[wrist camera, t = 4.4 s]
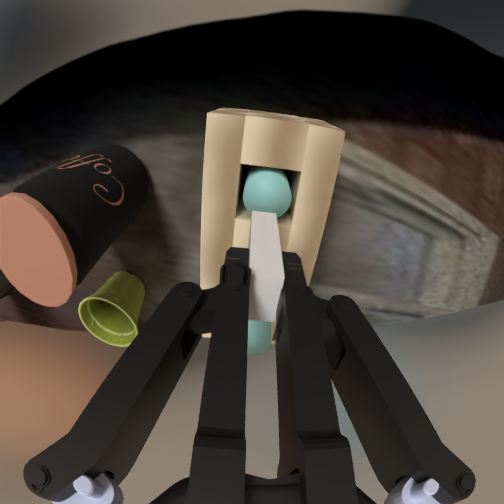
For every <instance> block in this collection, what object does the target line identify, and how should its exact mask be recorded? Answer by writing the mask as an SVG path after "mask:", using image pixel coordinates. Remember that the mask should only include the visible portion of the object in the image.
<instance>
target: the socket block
mask: <svg viewBox="0 0 504 504" xmlns="http://www.w3.org/2000/svg"><path fill="white" fill-rule="evenodd" d="M344 137H345V131H343V130H341V129H339V128H337V127H335V126H333V125H331V124H329V123H327V122H324V121H321V120H316V119H310V118H305V117H299V116H292V115H286V114H279V113H271V112H263V111H254V110H244V109H233V108H220V109H217V110H214V111H211V112H208V113H207V122H206V135H205V150H204V167H203V187H202V213H201V258H200V287H201V289H209V288H213V287H215V286H217V285H218V284H219V282H220V268H221V266H222V265H224V261H225V256H226V251H227V250H228V249H229V248H230V247H239V248H248V240H249V232H250V223H251V215H252V214H250V213H249V212H248V210H247V209H246V207H245V205H244V202H243V193H244V187H245V186H242V182H243V173H244V164H248V165H257V166H265V167H273V168H281V169H288V174H287V179H288V183H289V187H290V190H291V195H292V199H291V204H290V206H289V208H288V210H287V211H286V212H285V213H284V214H283V215H282V216H280V217H278V218H277V223H278V230H279V238H280V245H281V251H285V252H294V253H297V255H298V256H299V257H300V258H301V261H302V266H303V270H304V275H305V279H306V284H307V286H308V287H309V283H310V280H311V276H312V273H313V269H314V266H315V262H316V258H317V255H318V251H319V247H320V243H321V239H322V235H323V232H324V228H325V223H326V219H327V215H328V211H329V207H330V203H331V198H332V194H333V190H334V185H335V181H336V176H337V171H338V167H339V162H340V157H341V152H342V147H343V142H344ZM276 323H277V321H276V318H275V322H271V344H275V341H272V339H273V335H274V331H275V327H276ZM202 337H210V338H211V333H206V334H202Z"/></svg>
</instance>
